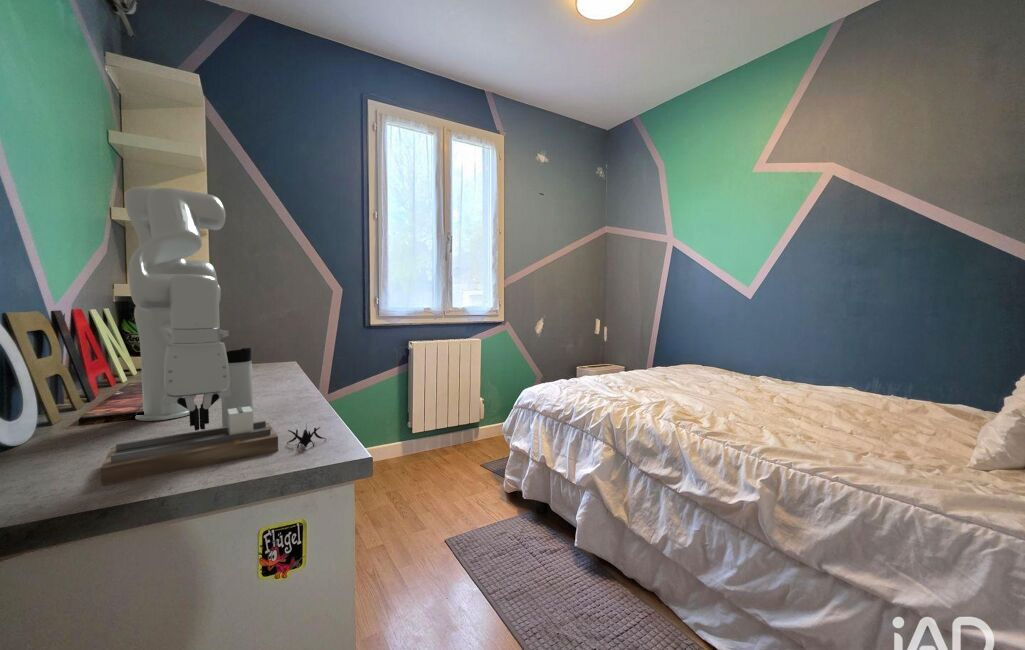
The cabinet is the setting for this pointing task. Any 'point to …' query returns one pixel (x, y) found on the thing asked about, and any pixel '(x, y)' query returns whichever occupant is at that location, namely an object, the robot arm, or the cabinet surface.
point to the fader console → (184, 452)
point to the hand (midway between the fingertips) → (199, 428)
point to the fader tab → (240, 420)
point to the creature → (305, 437)
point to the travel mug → (238, 382)
